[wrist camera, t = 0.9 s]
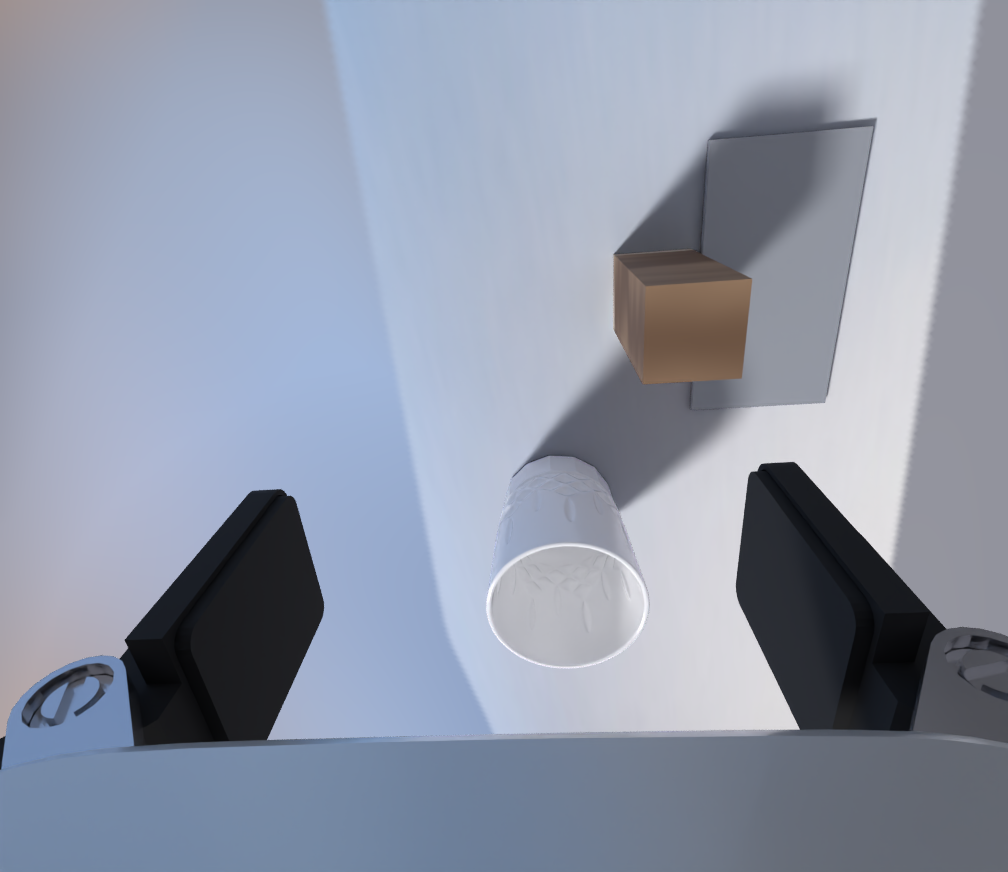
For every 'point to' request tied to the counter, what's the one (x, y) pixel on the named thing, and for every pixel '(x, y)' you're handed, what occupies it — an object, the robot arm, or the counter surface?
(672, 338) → the block
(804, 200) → the mat
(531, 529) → the white cup
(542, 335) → the counter surface
